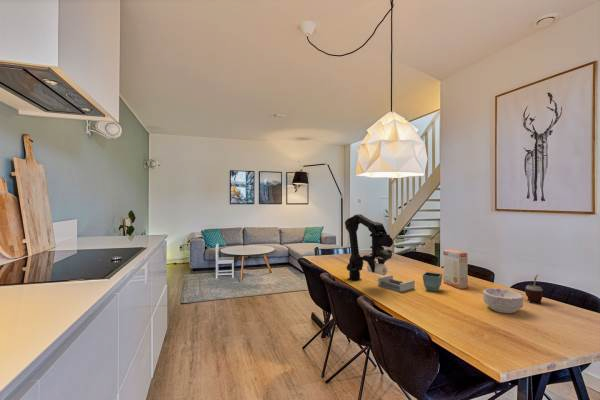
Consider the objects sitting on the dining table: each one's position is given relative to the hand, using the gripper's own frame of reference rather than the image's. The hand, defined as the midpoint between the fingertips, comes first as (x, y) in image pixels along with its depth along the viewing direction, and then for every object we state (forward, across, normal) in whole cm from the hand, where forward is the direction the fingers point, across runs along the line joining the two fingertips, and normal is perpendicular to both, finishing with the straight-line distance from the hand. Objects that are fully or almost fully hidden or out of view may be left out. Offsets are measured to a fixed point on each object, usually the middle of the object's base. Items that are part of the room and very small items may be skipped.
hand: (377, 271), depth 171 cm
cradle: (+10, +11, -5) cm, 15 cm away
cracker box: (+10, +43, -23) cm, 50 cm away
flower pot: (+10, +24, -20) cm, 33 cm away
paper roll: (-2, 0, 0) cm, 2 cm away
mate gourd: (+10, +46, -61) cm, 77 cm away
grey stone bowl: (+10, +22, -56) cm, 61 cm away
